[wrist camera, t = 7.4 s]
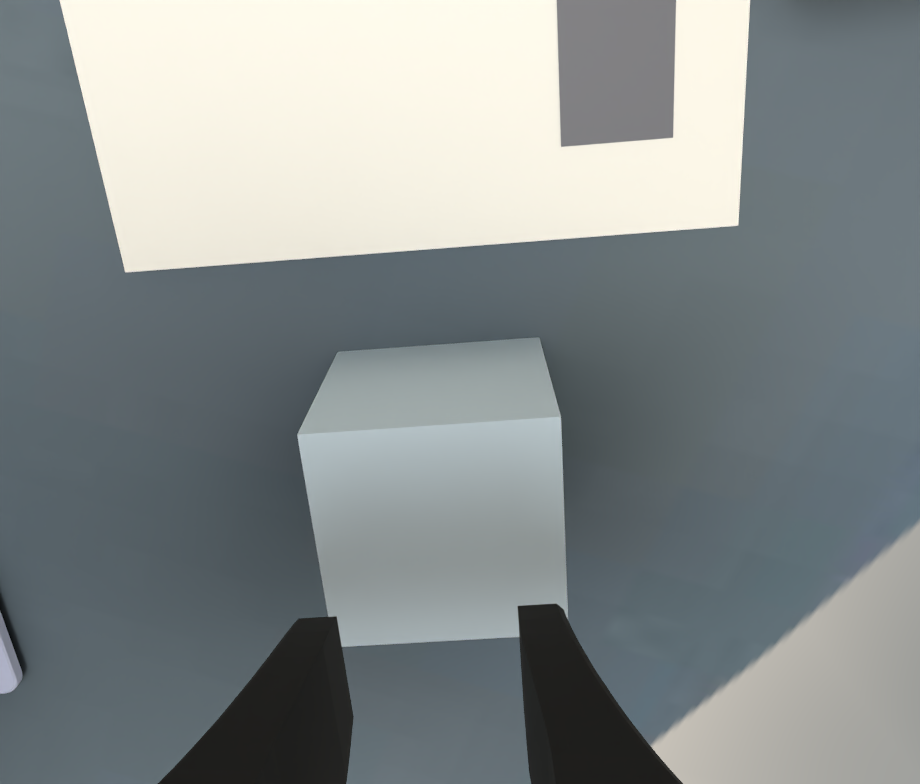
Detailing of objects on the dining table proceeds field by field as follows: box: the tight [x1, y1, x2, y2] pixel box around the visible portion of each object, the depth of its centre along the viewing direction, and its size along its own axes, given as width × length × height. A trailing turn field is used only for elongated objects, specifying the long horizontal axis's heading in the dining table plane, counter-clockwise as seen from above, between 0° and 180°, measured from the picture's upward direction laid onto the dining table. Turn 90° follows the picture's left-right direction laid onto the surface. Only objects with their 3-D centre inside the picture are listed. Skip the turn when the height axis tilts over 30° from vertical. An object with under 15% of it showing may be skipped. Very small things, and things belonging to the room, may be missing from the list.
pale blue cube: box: [297, 337, 568, 647], centre depth 18 cm, size 5×5×5 cm
